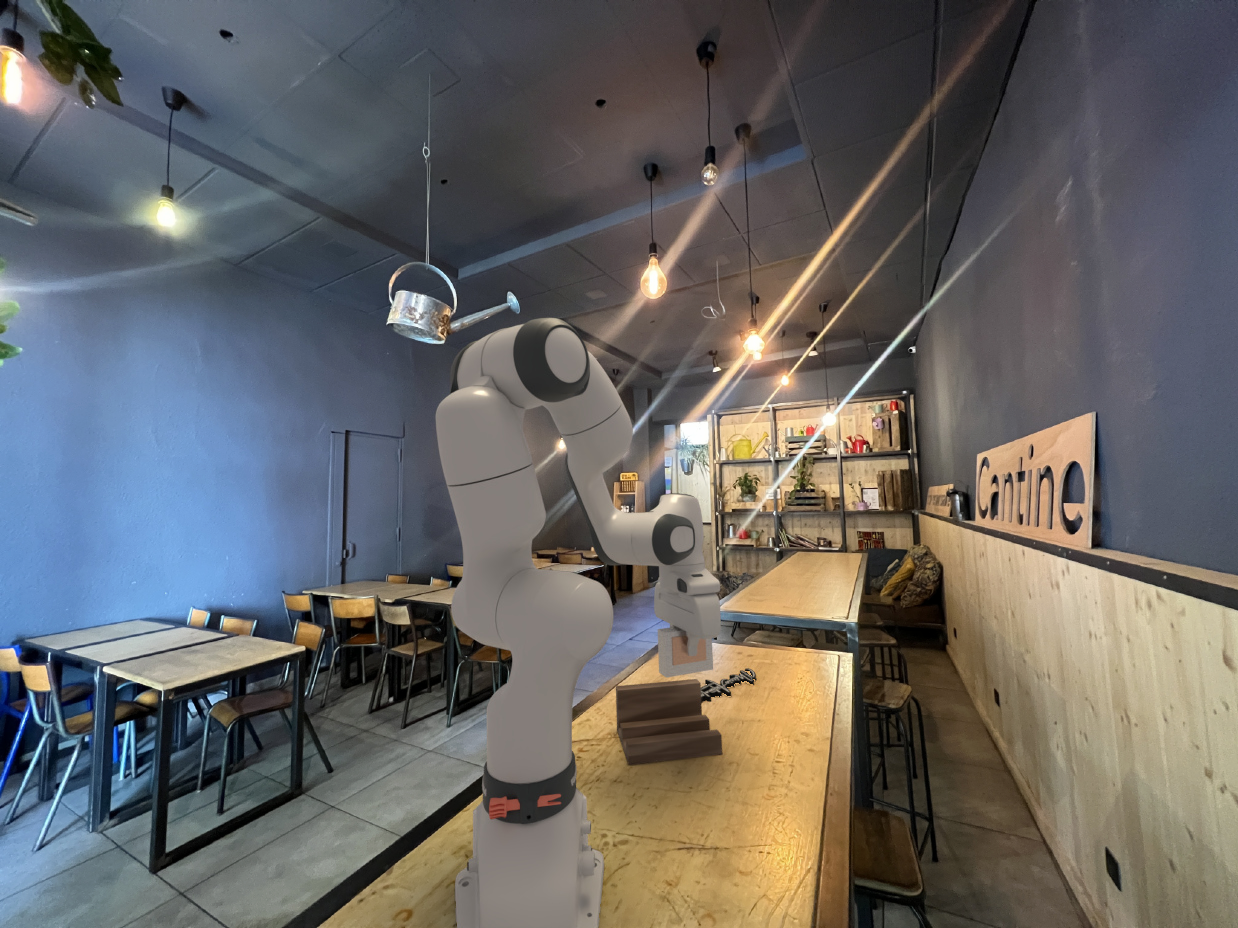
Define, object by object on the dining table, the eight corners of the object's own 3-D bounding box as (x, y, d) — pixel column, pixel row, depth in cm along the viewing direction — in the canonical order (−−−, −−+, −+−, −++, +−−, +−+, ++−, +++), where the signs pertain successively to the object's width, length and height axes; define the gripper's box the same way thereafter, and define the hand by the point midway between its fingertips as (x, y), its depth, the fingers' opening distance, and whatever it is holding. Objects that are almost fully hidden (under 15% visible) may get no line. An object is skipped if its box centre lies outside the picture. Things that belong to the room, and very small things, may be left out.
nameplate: (735, 665, 137) (767, 672, 130) (735, 670, 137) (768, 678, 130) (676, 693, 117) (710, 704, 110) (676, 700, 117) (710, 711, 110)
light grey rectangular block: (713, 669, 91) (711, 626, 92) (666, 677, 88) (665, 633, 88) (705, 664, 94) (703, 623, 95) (659, 672, 91) (657, 629, 91)
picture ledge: (722, 753, 90) (720, 704, 91) (628, 764, 88) (627, 713, 88) (698, 721, 104) (696, 678, 105) (616, 730, 101) (615, 685, 102)
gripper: (645, 572, 101) (647, 639, 100) (694, 586, 82) (697, 670, 81) (672, 570, 103) (674, 636, 102) (725, 583, 84) (729, 664, 83)
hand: (685, 651), depth 91 cm, fingers closed on light grey rectangular block, 3 cm apart
